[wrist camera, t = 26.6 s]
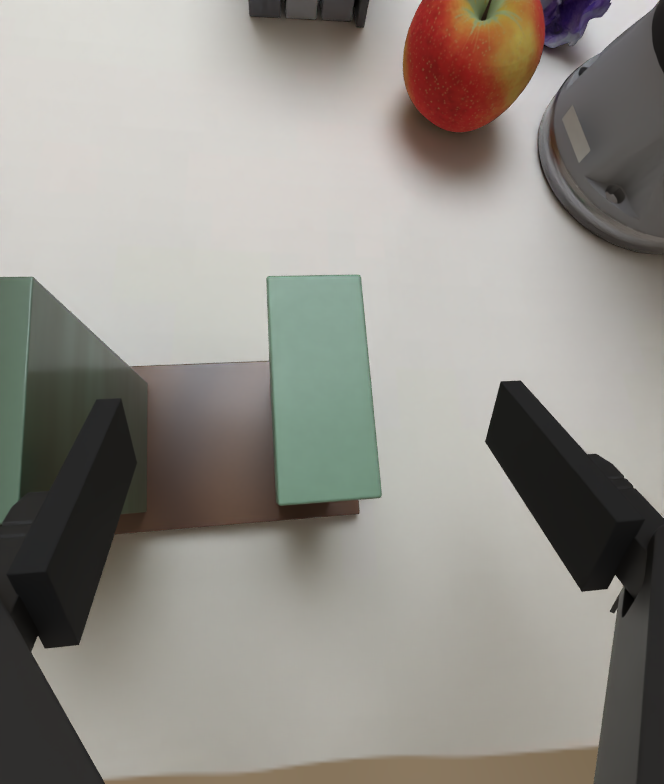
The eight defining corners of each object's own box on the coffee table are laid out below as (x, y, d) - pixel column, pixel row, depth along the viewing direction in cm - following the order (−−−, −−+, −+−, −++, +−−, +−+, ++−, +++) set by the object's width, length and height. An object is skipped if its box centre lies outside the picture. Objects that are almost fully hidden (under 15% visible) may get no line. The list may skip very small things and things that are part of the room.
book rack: (344, 362, 29) (417, 215, 14) (356, 513, 27) (457, 528, 12) (28, 375, 27) (-285, 215, 12) (18, 541, 25) (-371, 603, 10)
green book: (321, 376, 28) (360, 273, 15) (330, 499, 26) (382, 497, 14) (270, 378, 27) (266, 275, 15) (276, 503, 26) (277, 505, 13)
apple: (521, 116, 35) (615, -32, 25) (452, 180, 33) (526, 47, 23) (440, 45, 36) (502, -125, 26) (368, 104, 34) (406, -56, 24)
